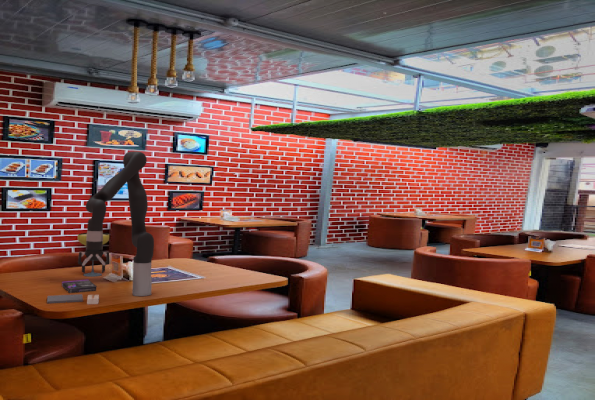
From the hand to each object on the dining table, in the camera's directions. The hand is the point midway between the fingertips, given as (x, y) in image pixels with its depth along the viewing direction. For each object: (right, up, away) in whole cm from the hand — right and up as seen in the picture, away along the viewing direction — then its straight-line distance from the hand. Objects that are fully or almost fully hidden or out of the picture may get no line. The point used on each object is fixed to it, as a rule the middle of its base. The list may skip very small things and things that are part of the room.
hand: (93, 272), depth 261 cm
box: (-19, -13, +29) cm, 37 cm away
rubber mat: (-15, -14, +3) cm, 20 cm away
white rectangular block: (0, -15, +1) cm, 15 cm away
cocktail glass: (-26, -10, +66) cm, 72 cm away
